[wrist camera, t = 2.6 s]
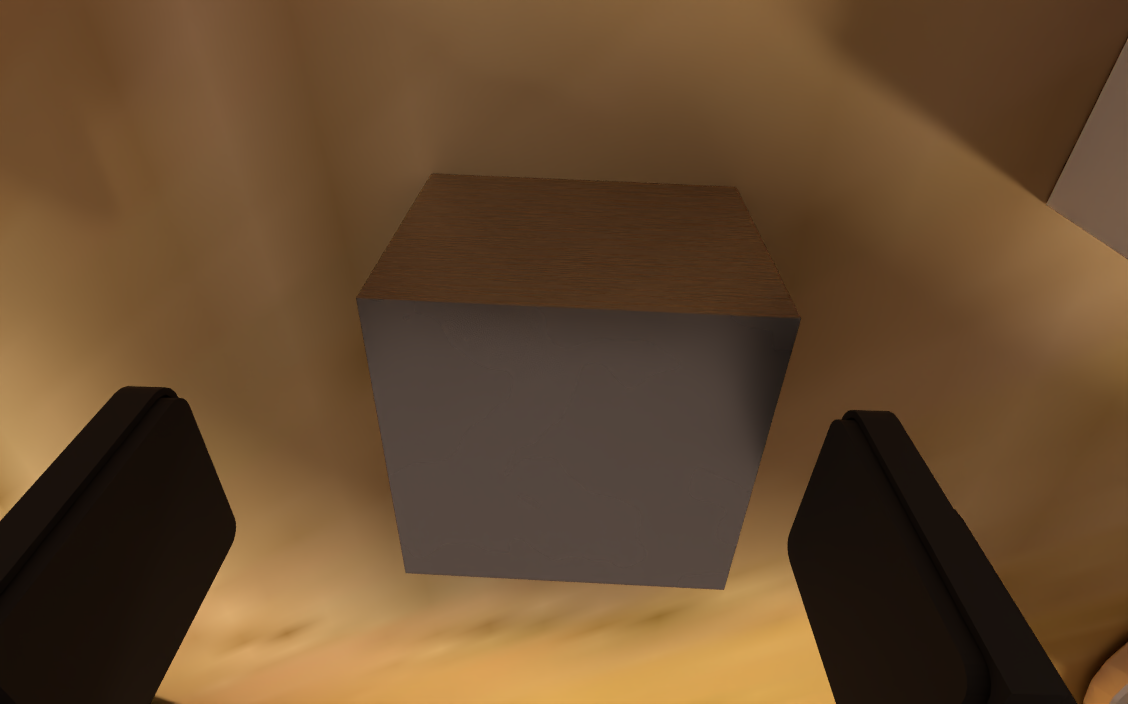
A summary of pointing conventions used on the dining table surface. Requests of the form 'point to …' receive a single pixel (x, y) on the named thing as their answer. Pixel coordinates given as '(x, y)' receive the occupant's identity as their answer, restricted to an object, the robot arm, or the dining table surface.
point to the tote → (1100, 167)
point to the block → (575, 377)
